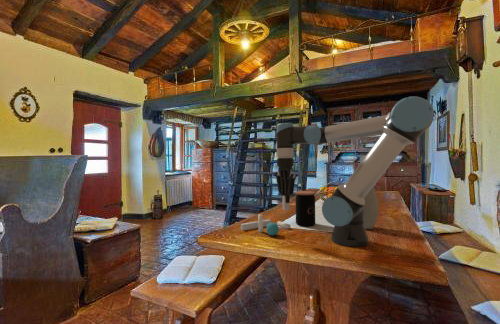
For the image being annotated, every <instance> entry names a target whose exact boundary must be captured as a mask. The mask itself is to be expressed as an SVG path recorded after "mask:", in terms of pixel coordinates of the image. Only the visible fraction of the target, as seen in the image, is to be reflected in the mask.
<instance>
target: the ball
mask: <svg viewBox="0 0 500 324" xmlns="http://www.w3.org/2000/svg"><path fill="white" fill-rule="evenodd" d="M265 227H266V228H265V231H266V233H267V234H268V236H275V235H277V234H279V230H280V229H279V227H280V226H278V225H277V222H271V223H269V224H268V225H267V226H265Z"/></svg>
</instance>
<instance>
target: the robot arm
mask: <svg viewBox="0 0 500 324" xmlns="http://www.w3.org/2000/svg"><path fill="white" fill-rule="evenodd" d="M434 115H435V110H434V107H433V105H432V103H431V102H430V101H428V100H427V99H425V98H424V97H420V96H408V97H404V98H402V99H400V100H399V101H397V102H396V103H395V104H394V106H393V107H392V109H391V111H389V112H388V113H387V114H386V115H380V116H374V117H370V118H365V119H360V120H359V119H358V120H353V121H348V122H343V123H339V124H332V125H328V126H321V127H319V126H318V125H317V124H316V125H311V124H310V125H305V126H304V125H303V126H294V124H293V123H292V122H281V123H278V124H277V125H276V132H275V133H276V157H277V158H276V166H277V167H278V170H277V172H274V175H275V178H276V185H277V191H278V194H281V202H282V207H281V208H282V211H289V210H290V203H291V202H290V199H291V198H290V197H291V195H294V190H295V183H296V178H297V176H298V175H297V173H296V172H294V170H293V167H294V164H295V163H294V162H295V161H294V145H302V144H304V145H307V144H308V145H316V146H321V145H323V144H329V143H334V142H343V141H351V140H355V139H362V138H369V137H375V136H379V137H378V139H377V140H376V142H375V143H374V145H372V147H371V148H370V150H369V151H368V152H367V153H366V154H365V155H366V156H365V158H364V159H363V160H362V162H361V163H359V165H357V167H356V168H355V170H354V171H353V172H352V173H351V175H350V176H349V178H348V179H347V180H346V182H345V183H344V184H339V185H338V186H337V187H336V188H335V190H334V191H333V192H332V194H331V195H330V196H329V197H327V198H326V199H325V200H324V201H323V202H322V204H321V212H322V216H323V218H324V219H325V220H326V222H327V223H328V224H330V225H333V226H334V227H333V229H332V233H331V241H332V242H333V243H335V244H338V245H340V246H344V247H345V246H346V247H364V246H367V245H368V244H369V236H368V234H367V231H366V230H367V229H365V227H364V204H365V201H364V198H365V196H366V195H367V194H368V193H369V191H370V190H371V189H372V187H373V186H374V187H375V185H376V184H377V183H378V181H379V180H380V179H381V178H382V177H383V175H384V174H385V172H386V171H387V170H388V168H389V167H390V166H392V164H393V162H394V161H395V160H396V159H397V157H398V156H399V155H400V154H401V152H402V151H403V150H404V149H405V147H406V146H409V145H413V144H415V143H416V141H417V140H418V139H419V137H421V135H422V134H423V133H424V132H425V131H426V130H428V129H429V128H430V127H431V125H432V123H433V121H434Z"/></svg>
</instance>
